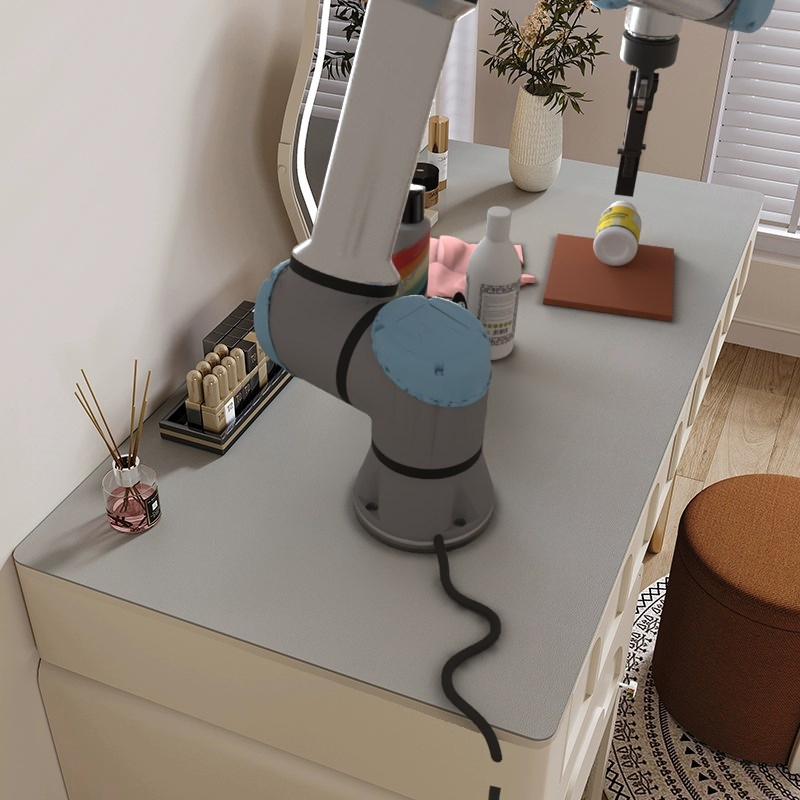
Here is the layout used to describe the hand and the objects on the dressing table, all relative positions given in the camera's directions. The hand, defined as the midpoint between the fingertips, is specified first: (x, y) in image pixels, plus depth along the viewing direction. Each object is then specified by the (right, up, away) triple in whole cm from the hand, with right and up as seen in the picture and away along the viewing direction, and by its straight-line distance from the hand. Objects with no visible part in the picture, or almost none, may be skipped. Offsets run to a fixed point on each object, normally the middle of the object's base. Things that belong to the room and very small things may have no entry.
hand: (624, 193), depth 152 cm
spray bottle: (-32, -19, -10) cm, 39 cm away
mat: (-2, -12, +1) cm, 13 cm away
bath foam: (-22, -24, -15) cm, 35 cm away
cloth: (-23, -11, +2) cm, 26 cm away
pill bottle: (-2, -8, -1) cm, 8 cm away
